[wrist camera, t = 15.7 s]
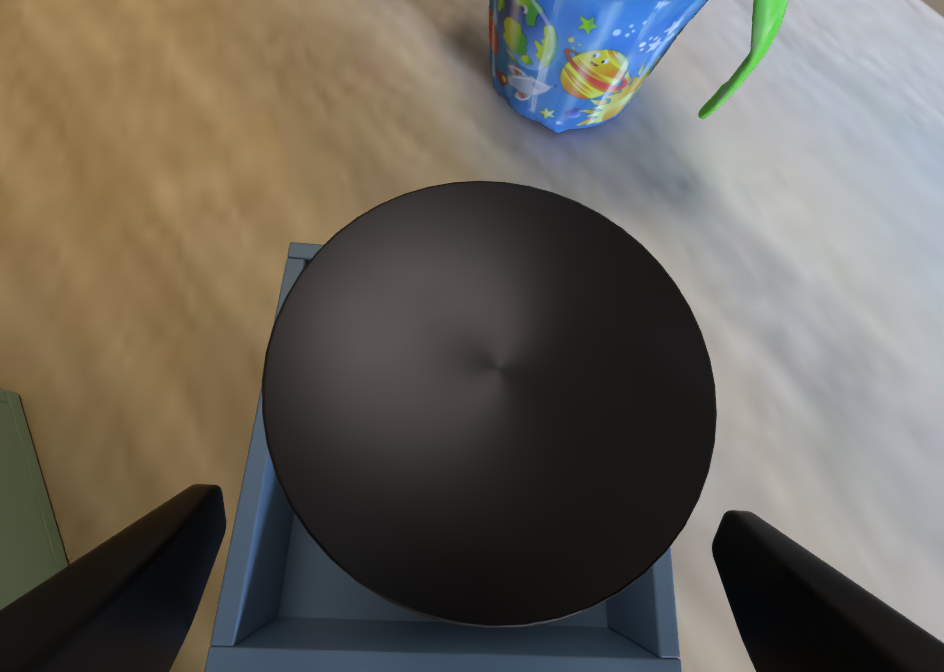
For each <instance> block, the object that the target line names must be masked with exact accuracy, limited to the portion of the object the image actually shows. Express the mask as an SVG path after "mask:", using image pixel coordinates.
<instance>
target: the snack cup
mask: <svg viewBox="0 0 944 672" xmlns="http://www.w3.org/2000/svg"><path fill="white" fill-rule="evenodd" d="M707 1H708V0H490V4H489V38H490V66H491V71H492V78H493V85H494V88H495V89H496V91H497V93H498V94H499V96H501V97H504V98H505V99H506V100H507V102H508V104H509V105H510V106H511V107H512V108H513V109H514V110H515V111H517V112H518V113H520V114H522V115H524V116H525V117H527V118H529V119H531V120H535V121H539V122H540V123H542V124H543V125H544V126H546V127H548V128H549V129H551V130H552V131H554V132H556V133H560V132H563V131H565V130H567V129H579V128H588V127H592V126H597V125H599V124H601V123H603V122H606V121H608V120H609V119H612V118H615V117H616V116H617V114H618V113H620V112H621V111H622V110H623V108H624V107H625V106H626V105H628V103H629V102H630V101H631V99H632V98H633V96H634V95H635V94H636V92H637V91H638V89H639V88H640V87H641V85H642V84H643V83H644V81H645V80H646V79H647V77H648V76H649V75H650V73H651V72H652V70H653V69H654V68H655V66H656V65H657V64H658V62H659V61H660V60H661V58H662V57H663V56H664V54H665V53H666V52H667V50H668V49H669V47H670V46H671V44H672V43H673V41H674V40H675V39H676V37H677V35H678V34H679V33H680V32H681V31H682V30H683V29H684V27H685V26H686V24H687V23H688V22H689V21H690V20H691V19H692V18H693V17H694V16H695V15H696V14H697V13H698V11H699V10H700V9H701V8H702V7H703V6H704V5H705V3H706V2H707ZM787 3H788V0H754V2H753V16H752V36H751V50H750V53H749V55H748V56H747V57H746V59H745V60H744V61H743V62H742V64H741V65H740V66H739V68H738V69H737V70H736V72H735V73H734V74H733V76H732V77H731V78H730V80H729V81H728V82H726V83H725V84H723V85H722V86H721V87H720V88H719V90H718V91H717V92H716V93H715V94H714V96H713V97H712V98H711V99H710V100H709V101H708V102H707V103H706V104H705V105H704V106H703V107H702V108H701V110H700V111H699V114H698V115H699V117H700V118H701V119H704V118H706V117H708V116H709V115H710V114H711V113H713V112H714V111H715V110H716V109H717V108H719V107H720V106H721V105H722V104H723V103H724V102H725V101H726V100H727V99H728V98H729V97H730V96H731V95H732V94H733V93H734V92H735V91H736V90H737V89H738V88H739V86H740V85H741V84H742V83H743V81H744V80H745V79H746V77H747V76H748V75H749V74H750V72H751V71H752V70H753V69H754V68H755V67H756V66H757V64H758V63H759V62H760V60H761V59H762V58H763V56H764V55H765V54H766V52H767V50H768V49H769V47H770V45H771V44H772V42H773V40H774V38H775V36H776V34H777V31H778V29H779V27H780V25H781V23H782V20H783V17H784V14H785V11H786V7H787Z"/></svg>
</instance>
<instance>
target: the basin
mask: <svg viewBox="0 0 944 672" xmlns="http://www.w3.org/2000/svg"><path fill="white" fill-rule="evenodd" d="M323 246H324V245H317V244H305V243H293V242H292V243H290V246H289V251H288V258H287V261H286V266H285V271H284V276H283V281H282V286H281V291H280V296H279V301H278V306H277V311H276V316H275V320H276V318H277V316H278V313H279V311H280V309H281V306H282V304H283V302H284V299H285V297H286V296H287V294H288V292H289V291H290V289H291V287H292V286H293V284H294V282H295V281H296V279H297V277H298V276H299V274H300V273H301V271H302V270H303V269H304V268H305V266H306V265H307V264H308V263H309V261H310V260H311V259H312V258H313V256H314V255H315V254H316V252H317V251H318V250H319V249H321V248H322V247H323ZM274 323H275V321H274ZM211 645H212V646H210V648H209V652H208V657H207V662H206V667H205V672H682V670H681V661H680V659H678V658H680V651H679V640H678V629H677V618H676V606H675V595H674V584H673V573H672V561H671V550H670V547H669V549H668V550H667V551H666V553H665V554H664V555H663V556H662V557H661V558H660V559H659V560H658V561H657V562H656V563H655V564H654V565H653V566H652V567H651V568H650V569H649V570H648V571H647V572H646V573H645V574H644V575H643V576H641V577H640V578H639V579H637V580H636V581H635V582H633V583H632V584H631V585H629V586H628V587H627V588H625V589H624V590H623V591H621V592H620V593H619V594H617V595H615V596H613V597H612V598H610V599H608V600H606V601H604V602H602V603H600V604H599V605H597V606H595V607H593V608H591V609H589V610H587V611H584V612H581V613H578V614H575V615H572V616H570V617H567V618H564V619H561V620H558V621H554V622H549V623H544V624H539V625H533V626H528V627H520V628H494V629H487V628H478V627H470V626H461V625H453V624H449V623H446V622H442V621H438V620H435V619H431V618H427V617H423V616H420V615H417V614H415V613H413V612H411V611H408V610H406V609H404V608H401V607H399V606H397V605H394V604H392V603H390V602H388V601H386V600H384V599H383V598H381V597H380V596H378V595H376V594H375V593H373V592H372V591H370V590H368V589H367V588H365V587H364V586H362V585H360V584H359V583H357V582H356V581H355V580H354V579H353V578H351V577H350V576H349V575H348V574H347V573H345V572H344V571H343V570H342V569H341V568H340V567H338V566H337V565H336V564H335V563H334V562H333V561H331V560H330V559H329V557H328V556H327V555H326V554H325V553H324V552H323V551H322V549H321V548H320V547H319V546H318V545H317V544H316V543H315V541H314V540H313V539H312V538H311V537H310V536H309V535H308V533H307V532H306V530H305V529H304V527H303V526H302V524H301V522H300V521H299V519H298V518H297V516H296V515H295V513H294V512H293V510H292V509H291V507H290V505H289V503H288V501H287V499H286V497H285V495H284V492H283V490H282V488H281V486H280V484H279V481H278V479H277V477H276V475H275V471H274V468H273V465H272V461H271V458H270V454H269V451H268V448H267V444H266V437H265V431H264V424H263V417H262V386H261V391H260V396H259V401H258V406H257V412H256V417H255V422H254V427H253V432H252V437H251V442H250V447H249V452H248V457H247V462H246V467H245V472H244V477H243V482H242V487H241V492H240V497H239V502H238V507H237V512H236V517H235V522H234V527H233V532H232V537H231V542H230V547H229V552H228V557H227V562H226V567H225V572H224V577H223V582H222V587H221V592H220V597H219V602H218V607H217V612H216V617H215V622H214V627H213V632H212V637H211Z"/></svg>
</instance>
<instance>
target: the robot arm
mask: <svg viewBox="0 0 944 672" xmlns="http://www.w3.org/2000/svg"><path fill="white" fill-rule="evenodd" d="M225 530H226V516H225V509H224V502H223V495H222V491H221V488H220V487H219V486H217V485H207V484H195V485H192V486H190V487H188V488H187V489H185V490H184V491H182V492H181V493H179V494H178V495H176V496H175V497H173V498H171V499H170V500H168V501H167V502H165V503H164V504H162V505H161V506H159V507H158V508H156V509H155V510H153V511H151V512H150V513H148V514H147V515H145V516H144V517H142V518H141V519H139V520H138V521H136V522H135V523H133V524H132V525H130V526H128V527H127V528H125V529H124V530H122V531H121V532H119V533H118V534H116V535H115V536H113V537H112V538H110V539H109V540H107V541H105V542H104V543H102V544H101V545H99V546H98V547H96V548H95V549H93V550H92V551H90V552H89V553H87V554H85V555H84V556H82V557H81V558H79V559H78V560H76V561H75V562H73V563H72V564H70V565H69V566H67V567H66V568H64V569H62V570H61V571H59V572H58V573H56V574H55V575H53V576H52V577H50V578H49V579H47V580H46V581H44V582H42V583H41V584H39V585H38V586H36V587H35V588H33V589H32V590H30V591H29V592H27V593H26V594H24V595H23V596H21V597H19V598H18V599H16V600H15V601H13V602H12V603H10V604H9V605H7V606H6V607H4V608H3V609H1V610H0V672H169V671H170V669H171V667H172V665H173V662H174V660H175V658H176V656H177V654H178V652H179V650H180V648H181V646H182V644H183V642H184V640H185V637H186V635H187V633H188V631H189V629H190V626H191V624H192V622H193V619H194V616H195V614H196V611H197V609H198V606H199V603H200V600H201V598H202V595H203V592H204V589H205V587H206V584H207V581H208V578H209V576H210V573H211V570H212V567H213V565H214V562H215V559H216V556H217V554H218V551H219V548H220V545H221V543H222V540H223V537H224V534H225ZM712 553H713V557H714V560H715V563H716V566H717V569H718V572H719V575H720V578H721V581H722V584H723V586H724V589H725V592H726V595H727V598H728V601H729V604H730V607H731V610H732V612H733V615H734V618H735V621H736V624H737V627H738V630H739V632H740V635H741V637H742V640H743V643H744V645H745V647H746V650H747V652H748V654H749V657H750V659H751V661H752V663H753V666H754V668H755V670H756V672H944V643H943V642H941V641H940V640H938V639H937V638H935V637H934V636H932V635H931V634H929V633H928V632H927V631H925V630H924V629H922V628H921V627H919V626H918V625H916V624H915V623H913V622H912V621H910V620H909V619H907V618H906V617H905V616H903V615H902V614H900V613H899V612H897V611H896V610H894V609H893V608H891V607H890V606H888V605H887V604H886V603H884V602H883V601H881V600H880V599H878V598H877V597H875V596H874V595H872V594H871V593H869V592H868V591H866V590H865V589H864V588H862V587H861V586H859V585H858V584H856V583H855V582H853V581H852V580H850V579H849V578H847V577H846V576H844V575H843V574H842V573H840V572H839V571H837V570H836V569H834V568H833V567H831V566H830V565H828V564H827V563H825V562H824V561H823V560H821V559H820V558H818V557H817V556H815V555H814V554H812V553H811V552H809V551H808V550H806V549H805V548H803V547H802V546H801V545H799V544H798V543H796V542H795V541H793V540H792V539H790V538H789V537H787V536H786V535H784V534H783V533H781V532H780V531H779V530H777V529H776V528H774V527H773V526H771V525H770V524H768V523H767V522H765V521H764V520H762V519H761V518H760V517H758V516H757V515H755V514H754V513H752V512H749V511H736V510H730V511H727V512H726V513H725V514H724V515H723V518H722V520H721V522H720V525H719V527H718V530H717V532H716V535H715V537H714V540H713V543H712Z"/></svg>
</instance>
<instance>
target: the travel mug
mask: <svg viewBox="0 0 944 672" xmlns="http://www.w3.org/2000/svg"><path fill="white" fill-rule="evenodd" d="M716 416H717V411H716V394H715V383H714V378H713V373H712V367H711V362H710V357H709V354H708V351H707V348H706V345H705V342H704V339H703V336H702V332H701V330H700V328H699V326H698V324H697V321H696V319H695V317H694V315H693V313H692V310H691V308H690V306H689V305H688V303H687V301H686V300H685V298H684V296H683V295H682V293H681V292H680V290H679V288H678V287H677V285H676V284H675V282H674V281H673V280H672V278H671V277H670V276H669V274H668V273H667V272H666V271H665V269H664V268H663V267H662V265H661V264H660V263H659V262H658V261H657V260H656V259H655V258H654V257H653V256H652V255H651V254H650V253H649V252H648V251H647V249H646V248H645V247H644V246H643V245H642V244H640V243H639V242H638V241H637V240H636V239H634V238H633V237H632V236H631V235H630V234H628V233H627V232H626V231H625V230H624V229H622V228H621V227H619V226H618V225H616V224H615V223H613V222H612V221H610V220H609V219H607V218H606V217H604V216H603V215H601V214H600V213H598V212H596V211H594V210H592V209H590V208H588V207H586V206H584V205H582V204H580V203H579V202H576V201H574V200H571V199H569V198H566V197H563V196H561V195H558V194H556V193H553V192H549V191H545V190H542V189H538V188H534V187H531V186H525V185H519V184H513V183H506V182H491V181H469V182H453V183H448V184H442V185H436V186H431V187H426V188H423V189H420V190H416V191H413V192H409V193H406V194H403V195H401V196H398V197H396V198H394V199H391V200H389V201H387V202H384V203H382V204H380V205H378V206H376V207H374V208H373V209H371V210H369V211H368V212H366V213H364V214H362V215H361V216H359V217H357V218H356V219H355V220H353V221H352V222H351V223H349V224H348V225H347V226H345V227H344V228H343V229H341V230H340V231H339V232H337V233H336V234H335V235H334V236H333V237H332V238H331V239H330V240H329V241H328V242H327V243H326V244H325V245H324V246H323V247H322V248H321V249H319V250H318V251H317V252H316V254H315V255H314V256H313V258H312V259H311V260H310V261H309V263H308V264H307V265H306V266H305V268H304V269H303V270H302V271H301V273H300V274H299V276H298V277H297V279H296V281H295V282H294V284H293V286H292V287H291V289H290V291H289V292H288V294H287V296H286V297H285V299H284V302H283V304H282V306H281V309H280V311H279V313H278V316H277V318H276V320H275V323H274V325H273V329H272V332H271V336H270V339H269V343H268V347H267V350H266V355H265V362H264V370H263V377H262V417H263V424H264V431H265V437H266V444H267V448H268V451H269V454H270V458H271V461H272V465H273V468H274V471H275V475H276V477H277V479H278V481H279V484H280V486H281V488H282V490H283V492H284V495H285V497H286V499H287V501H288V503H289V505H290V507H291V509H292V510H293V512H294V513H295V515H296V516H297V518H298V519H299V521H300V522H301V524H302V526H303V527H304V529H305V530H306V532H307V533H308V535H309V536H310V537H311V538H312V539H313V540H314V541H315V543H316V544H317V545H318V546H319V547H320V548H321V549H322V551H323V552H324V553H325V554H326V555H327V556H328V557H329V559H330V560H331V561H333V562H334V563H335V564H336V565H337V566H338V567H340V568H341V569H342V570H343V571H344V572H345V573H347V574H348V575H349V576H350V577H351V578H353V579H354V580H355V581H356V582H357V583H359V584H360V585H362V586H364V587H365V588H367V589H368V590H370V591H372V592H373V593H375V594H376V595H378V596H380V597H381V598H383V599H384V600H386V601H388V602H390V603H392V604H394V605H397V606H399V607H401V608H404V609H406V610H408V611H411V612H413V613H415V614H417V615H420V616H423V617H427V618H431V619H435V620H438V621H442V622H446V623H449V624H453V625H461V626H470V627H478V628H487V629H494V628H520V627H528V626H533V625H539V624H544V623H549V622H554V621H558V620H561V619H564V618H567V617H570V616H572V615H575V614H578V613H581V612H584V611H587V610H589V609H591V608H593V607H595V606H597V605H599V604H600V603H602V602H604V601H606V600H608V599H610V598H612V597H613V596H615V595H617V594H619V593H620V592H621V591H623V590H624V589H625V588H627V587H628V586H629V585H631V584H632V583H633V582H635V581H636V580H637V579H639V578H640V577H641V576H643V575H644V574H645V573H646V572H647V571H648V570H649V569H650V568H651V567H652V566H653V565H654V564H655V563H656V562H657V561H658V560H659V559H660V558H661V557H662V556H663V555H664V554H665V553H666V551H667V550H668V549H669V547H670V546H671V544H672V543H673V542H674V540H675V539H676V538H677V536H678V535H679V533H680V532H681V531H682V529H683V528H684V526H685V525H686V523H687V521H688V519H689V517H690V515H691V513H692V511H693V509H694V507H695V506H696V504H697V502H698V500H699V497H700V495H701V492H702V489H703V486H704V483H705V480H706V478H707V475H708V472H709V468H710V463H711V458H712V453H713V448H714V443H715V431H716Z"/></svg>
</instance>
